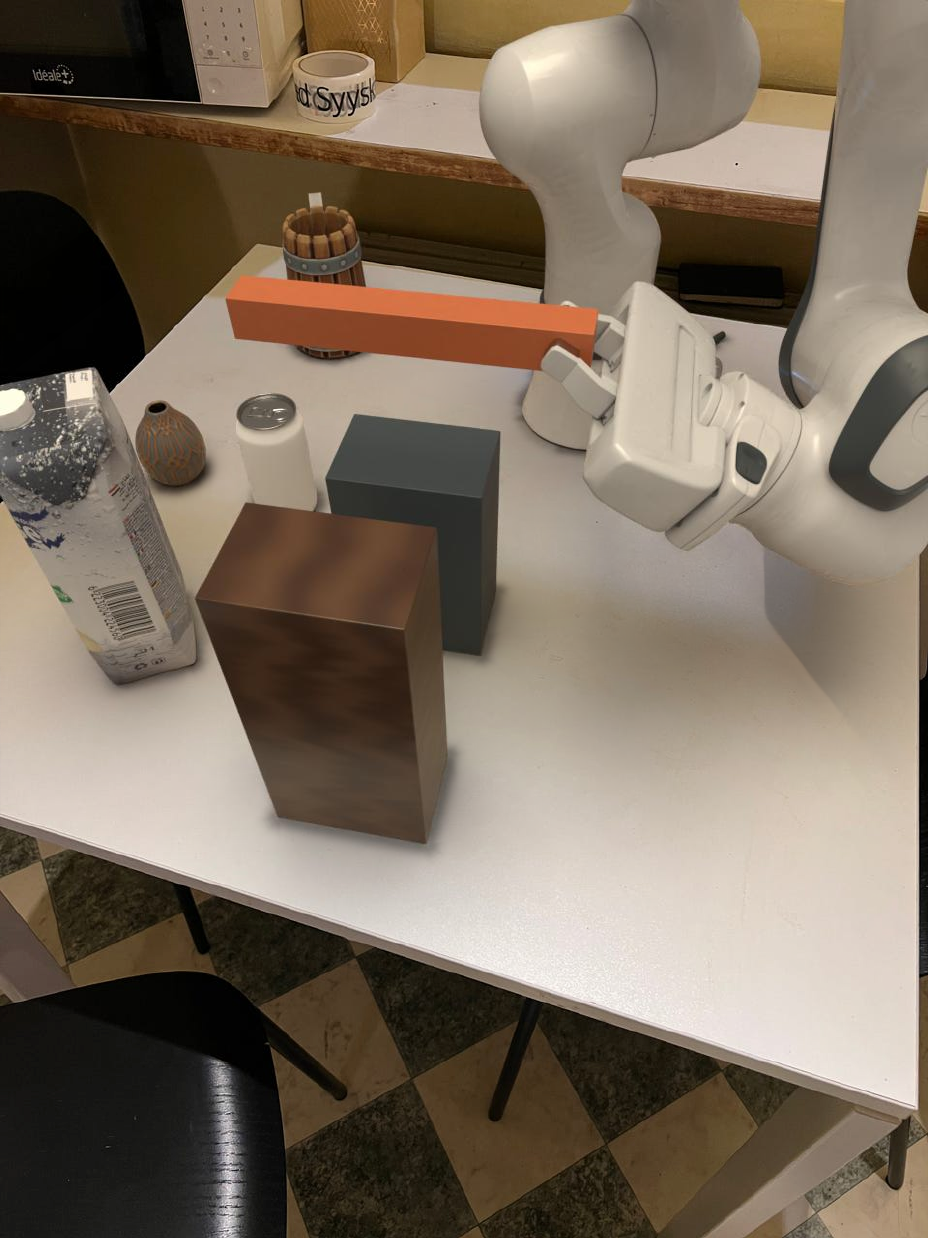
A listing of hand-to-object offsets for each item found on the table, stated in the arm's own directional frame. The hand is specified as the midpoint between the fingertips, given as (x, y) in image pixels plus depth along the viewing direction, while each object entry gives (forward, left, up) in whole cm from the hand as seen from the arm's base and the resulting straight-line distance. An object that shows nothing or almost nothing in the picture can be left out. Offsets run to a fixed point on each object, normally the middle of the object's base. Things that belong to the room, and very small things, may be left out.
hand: (551, 332), depth 55 cm
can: (+14, -27, -31) cm, 44 cm away
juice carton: (+31, -15, -31) cm, 47 cm away
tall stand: (+19, +8, -31) cm, 37 cm away
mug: (-2, -57, -31) cm, 65 cm away
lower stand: (+7, -7, -31) cm, 33 cm away
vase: (+23, -37, -31) cm, 54 cm away
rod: (+7, -6, -2) cm, 9 cm away
